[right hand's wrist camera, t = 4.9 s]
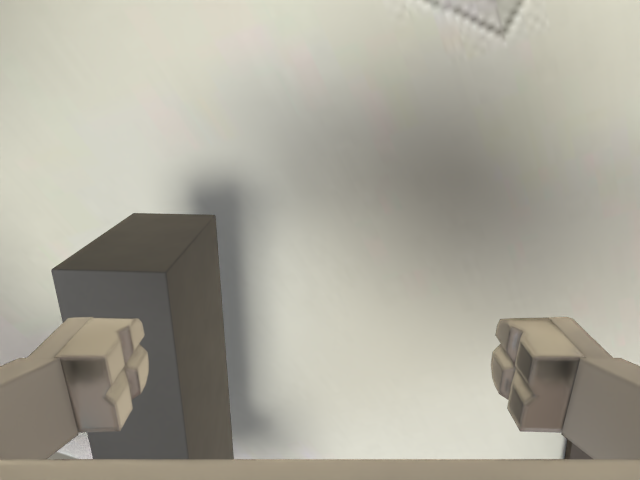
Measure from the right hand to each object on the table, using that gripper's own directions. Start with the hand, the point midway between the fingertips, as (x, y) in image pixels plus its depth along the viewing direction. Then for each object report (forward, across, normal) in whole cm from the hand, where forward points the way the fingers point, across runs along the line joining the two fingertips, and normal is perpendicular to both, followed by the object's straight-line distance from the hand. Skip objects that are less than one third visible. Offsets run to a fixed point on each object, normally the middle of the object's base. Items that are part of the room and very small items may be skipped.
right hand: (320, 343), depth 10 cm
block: (+19, -10, -17) cm, 27 cm away
